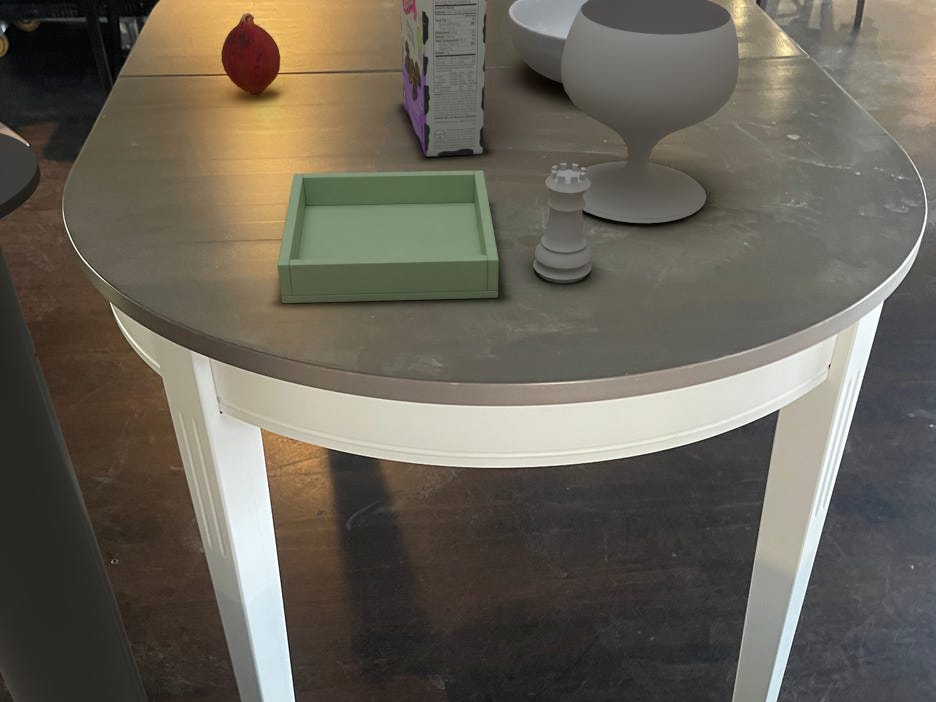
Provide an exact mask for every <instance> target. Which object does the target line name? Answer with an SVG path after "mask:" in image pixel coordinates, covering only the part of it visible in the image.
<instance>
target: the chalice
mask: <svg viewBox="0 0 936 702" xmlns="http://www.w3.org/2000/svg"><path fill="white" fill-rule="evenodd" d="M739 57H740V56H739V40H738V35H737V29H736V26H735V23H734V19H733V17H732V15H731V13H730V12H729V11H728V9H726V8H725V7H724V6H722V5H720V4H718V3H717V2H713V1H711V0H589V1H587V2H586V3H584V4H583V5H582V6H581V8H580V9H579V11H578V13H577V15H576V17H575V18H574V20H573V23H572V25H571V28H570V30H569V33H568V35H567V38H566V42H565V46H564V49H563V54H562V60H561V77H562V82H563V83H562V85H563V88H564V92H565V93H566V94H567V96H568V97H569V99H570V100H571V102H572V103H573V104H574V106H576V107H577V109H579V110H581V111H582V112H583V113H584V114H585V115H587V116H588V117H590V118H592V119H593V120H595V121H597V122H599V123H600V124H603V125H605V126H606V127H608V128H610V129H611V130H612V131H613V132H615V133H617V134H618V135H619V137H620V138H621V139H622V140H623V142H624V144H625V146H626V150H627V159H626V161H623V160H621V161H608V162H602V163H596V164H593V165H589V166H587V167H584V168H585V169H586V177H587V178H588V180H589V181H590V187H589V188H588V190H587V191H586V192H585V193H584V194H583V199H584V201H585V202H586V206H585V207H584V208H583V210H582V211H584V212H585V213H589V214H591V215H594V216H596V217H599V218H603V219H607V220H612V221H616V222H623V223H631V224H632V223H634V224H652V223H666V222H672V221H676V220H682V219H683V218H686V217H689V216H691V215H693V214H694V213H696V212H697V211H700V210H701V208H702V207H703V206H704V205H705V204H706V200H707V193H706V191H705V188H703V185H701V184H700V183H699V182H698V181H697V180H696V179H695V178H693V177H692V176H690V175H689V174H687V173H685V172H684V171H681V170H678V169H676V168H672V167H669V166H667V165H661V164H656V163H652V162H650V157H651V154H652V151H653V149H654V148H655V147H656V145H657V144H658V143H659V142H660V141H661V140H663V139H664V138H666V137H667V136H669V135H671V134H674V133H676V132H678V131H682V130H684V129H687V128H690V127H692V126H695V125H697V124H699V123H702V122H704V121H705V120H707V119H709V118H711V117H712V116H714V115H716V114H717V113H718V112H719V110H721V109H722V108H723V107H724V106H725V105H726V104H727V103H728V101H729V100H730V99H731V97H732V95H733V93H734V92H735V90H736V86H737V82H738V78H739Z"/></svg>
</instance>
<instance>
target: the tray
mask: <svg viewBox="0 0 936 702" xmlns="http://www.w3.org/2000/svg"><path fill="white" fill-rule="evenodd" d="M499 267H500V260H499V253H498V247H497V241H496V236H495V231H494V224H493V219H492V213H491V208H490V201H489V195H488V189H487V183H486V178H485V173H484V170H441V171H440V170H431V171H429V170H428V171H427V170H425V171H378V172H377V171H376V172H375V171H374V172H370V171H369V172H368V171H367V172H322V173H321V172H319V173H318V172H317V173H315V172H314V173H293V176H292V181H291V187H290V192H289V198H288V203H287V210H286V216H285V221H284V227H283V233H282V238H281V244H280V248H279V255H278V260H277V273H278V281H279V287H280V295H281V302H282V304H306V303H307V304H308V303H310V304H311V303H347V302H349V303H350V302H382V301H383V302H388V301H422V300H423V301H424V300H426V301H427V300H462V299H463V300H464V299H497V298H498V297H499V269H500V268H499Z"/></svg>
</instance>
